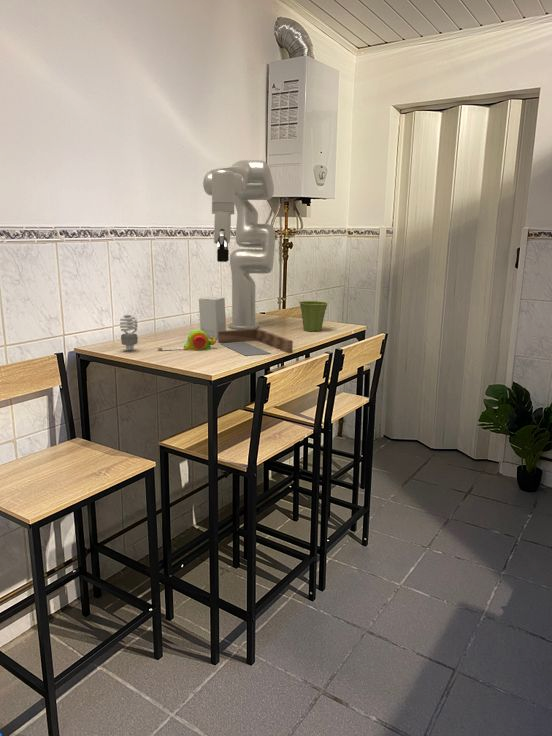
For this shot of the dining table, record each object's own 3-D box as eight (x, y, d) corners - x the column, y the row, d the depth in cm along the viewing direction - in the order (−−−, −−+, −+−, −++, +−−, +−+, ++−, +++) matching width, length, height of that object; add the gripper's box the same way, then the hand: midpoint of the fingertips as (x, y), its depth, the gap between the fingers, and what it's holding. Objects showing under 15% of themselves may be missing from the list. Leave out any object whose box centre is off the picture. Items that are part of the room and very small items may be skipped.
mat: (220, 344, 203) (220, 343, 203) (243, 342, 207) (243, 341, 207) (245, 356, 185) (245, 355, 185) (270, 353, 189) (270, 353, 189)
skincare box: (226, 337, 216) (226, 297, 212) (216, 339, 211) (216, 299, 207) (209, 334, 220) (208, 295, 217) (198, 337, 215) (198, 297, 212)
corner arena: (218, 342, 206) (218, 331, 205) (258, 339, 213) (258, 328, 212) (249, 356, 184) (249, 344, 183) (292, 352, 191) (292, 340, 190)
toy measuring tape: (217, 350, 194) (217, 331, 192) (158, 353, 188) (158, 333, 187) (214, 346, 200) (214, 327, 198) (157, 349, 194) (156, 329, 193)
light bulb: (117, 350, 189) (115, 314, 187) (132, 348, 194) (130, 312, 191) (127, 353, 186) (125, 316, 183) (142, 351, 190) (140, 314, 187)
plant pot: (326, 333, 228) (328, 304, 225) (297, 332, 229) (297, 303, 227) (327, 328, 239) (328, 301, 237) (299, 327, 241) (299, 300, 238)
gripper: (213, 210, 201) (213, 260, 204) (209, 207, 184) (209, 261, 187) (235, 211, 201) (235, 261, 204) (233, 207, 184) (232, 262, 188)
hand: (223, 261), depth 196 cm, fingers open, 9 cm apart
